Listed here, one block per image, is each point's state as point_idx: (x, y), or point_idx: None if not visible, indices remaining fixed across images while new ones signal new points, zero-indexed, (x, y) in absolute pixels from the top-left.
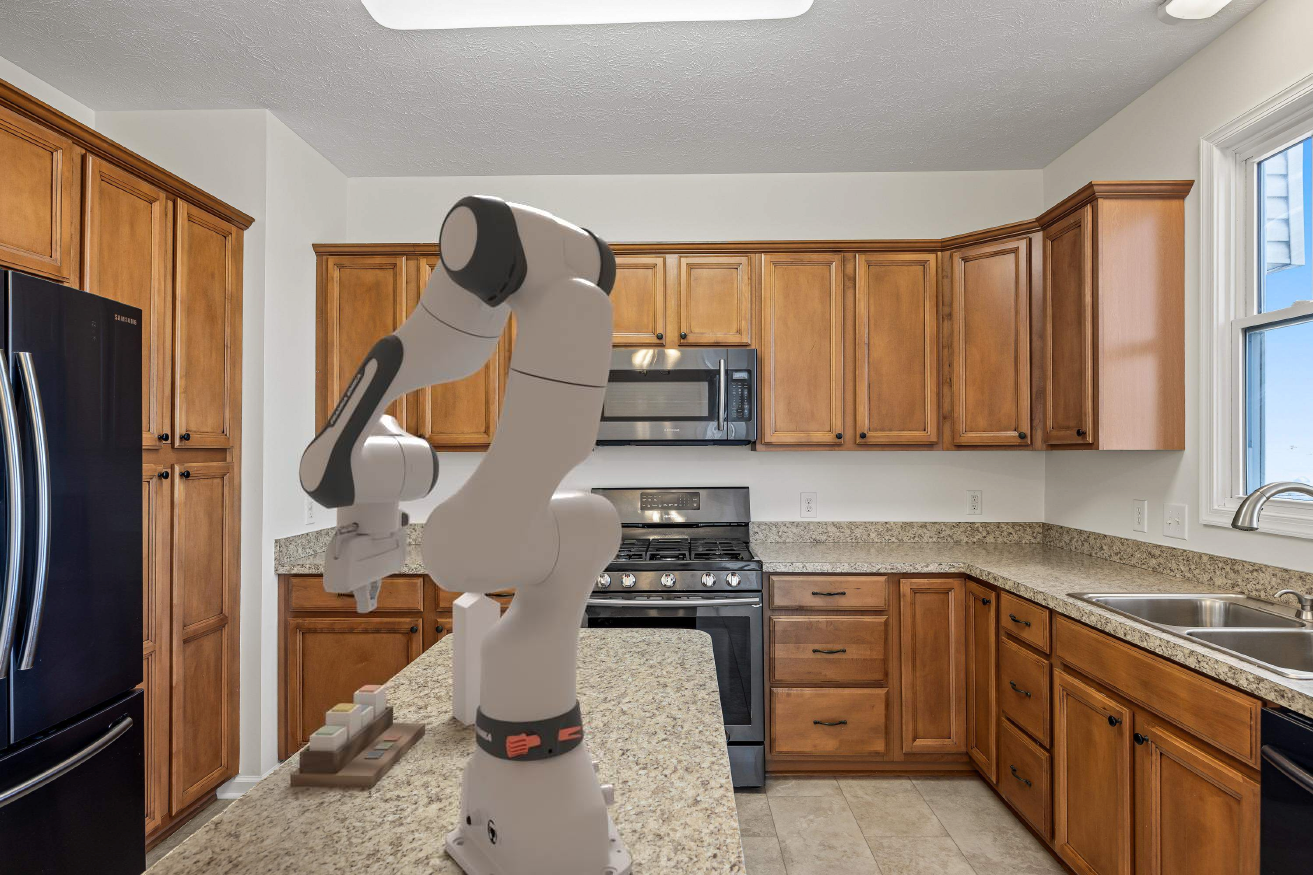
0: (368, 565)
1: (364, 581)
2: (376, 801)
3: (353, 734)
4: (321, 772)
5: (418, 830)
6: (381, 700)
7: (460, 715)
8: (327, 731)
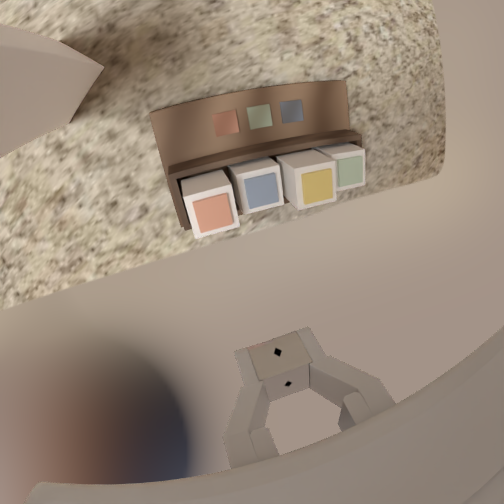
0: (479, 449)
1: (471, 374)
2: (363, 60)
3: (303, 152)
4: None
5: (397, 2)
6: (200, 183)
7: (87, 88)
8: (359, 167)
